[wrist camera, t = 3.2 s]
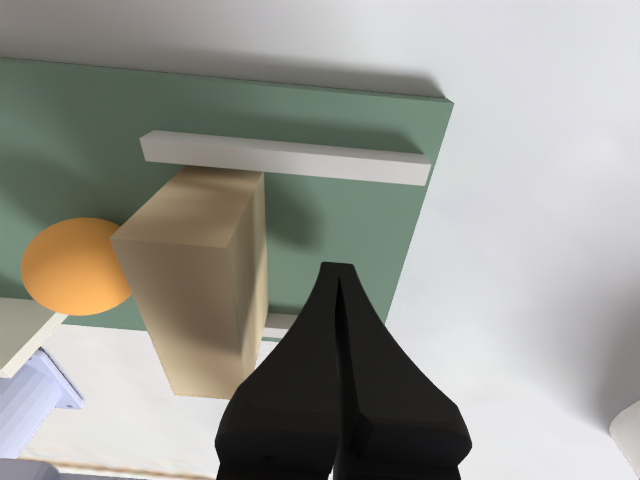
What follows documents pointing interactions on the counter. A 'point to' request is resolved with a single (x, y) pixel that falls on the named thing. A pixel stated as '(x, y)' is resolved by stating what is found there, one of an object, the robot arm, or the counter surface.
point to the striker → (201, 276)
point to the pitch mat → (222, 152)
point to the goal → (23, 331)
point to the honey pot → (628, 435)
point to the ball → (75, 268)
